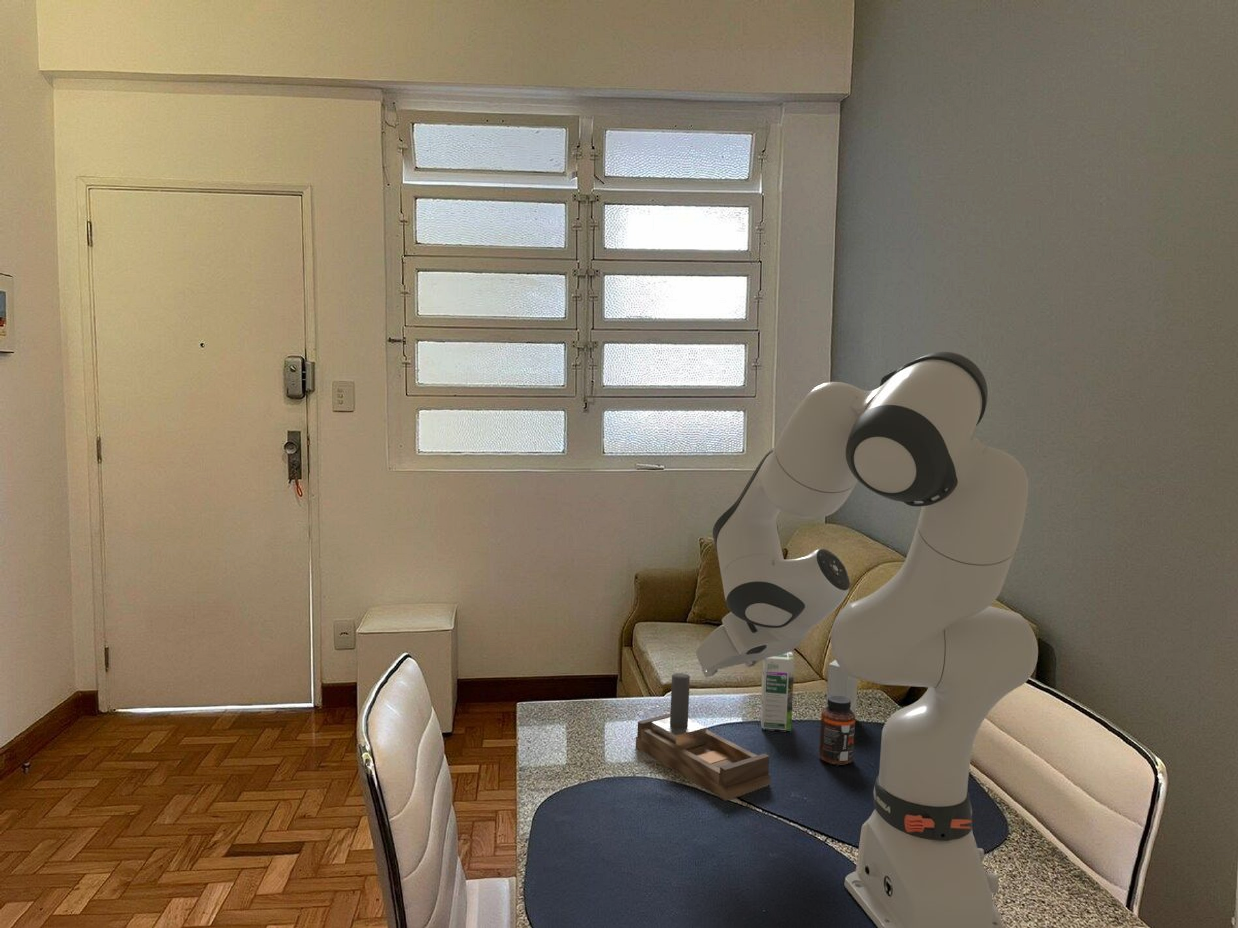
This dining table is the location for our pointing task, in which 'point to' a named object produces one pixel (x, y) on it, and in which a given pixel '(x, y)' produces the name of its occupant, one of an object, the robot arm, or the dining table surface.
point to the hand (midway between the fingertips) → (727, 667)
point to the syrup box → (777, 692)
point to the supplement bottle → (837, 731)
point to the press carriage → (680, 717)
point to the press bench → (708, 762)
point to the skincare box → (841, 684)
